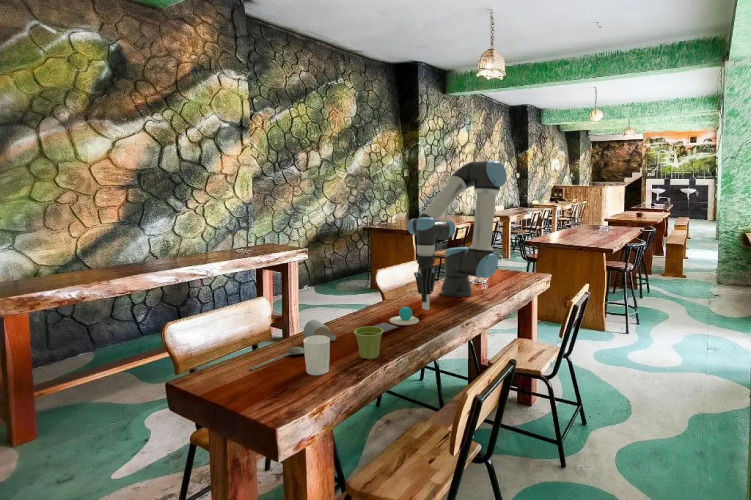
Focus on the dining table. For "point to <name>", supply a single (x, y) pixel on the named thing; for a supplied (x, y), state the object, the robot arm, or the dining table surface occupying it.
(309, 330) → the ceramic mug
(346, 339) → the dining table surface
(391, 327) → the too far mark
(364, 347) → the plant pot
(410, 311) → the ball
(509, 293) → the dining table surface
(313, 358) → the white cup
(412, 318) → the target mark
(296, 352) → the soupspoon
